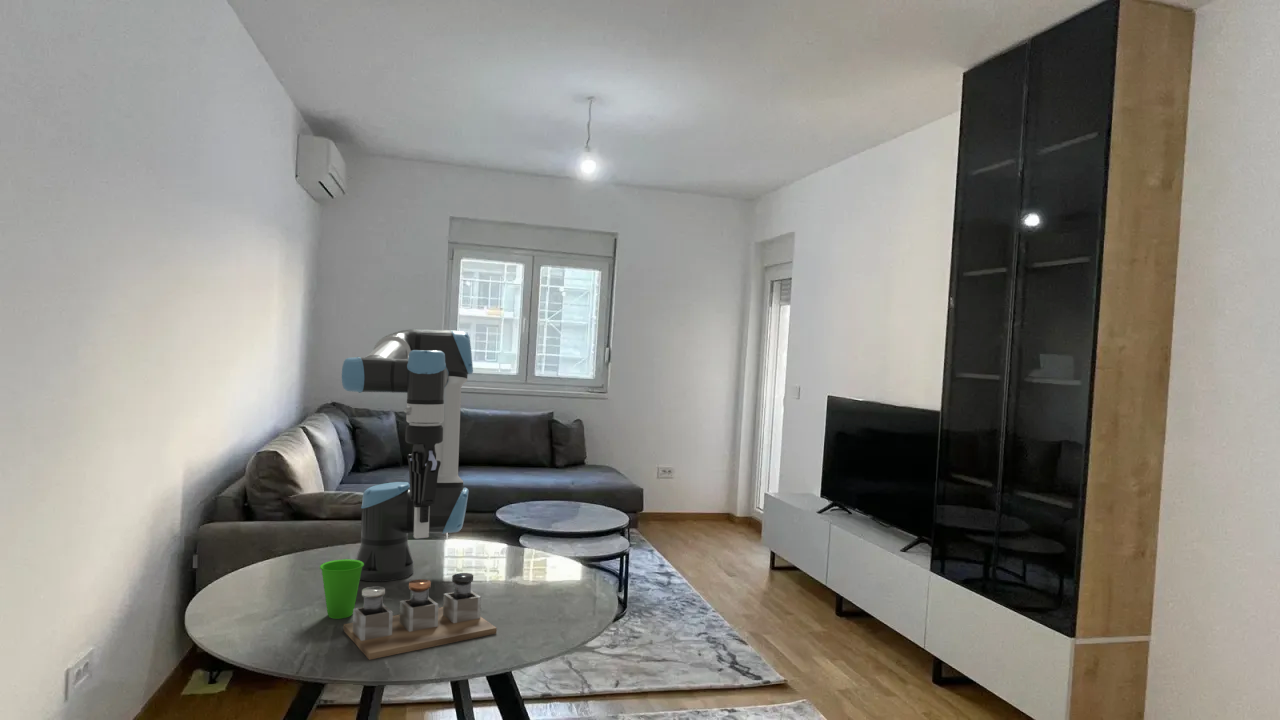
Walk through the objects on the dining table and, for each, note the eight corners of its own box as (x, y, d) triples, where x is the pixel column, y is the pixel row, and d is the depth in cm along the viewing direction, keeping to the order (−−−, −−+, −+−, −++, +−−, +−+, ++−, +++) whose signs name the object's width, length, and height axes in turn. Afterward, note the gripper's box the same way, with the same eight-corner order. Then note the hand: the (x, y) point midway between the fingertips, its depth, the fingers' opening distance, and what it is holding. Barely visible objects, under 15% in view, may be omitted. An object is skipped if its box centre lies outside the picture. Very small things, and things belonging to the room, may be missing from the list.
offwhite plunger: (358, 613, 152) (359, 588, 152) (380, 609, 155) (381, 585, 155) (364, 619, 148) (365, 594, 148) (387, 615, 151) (388, 590, 151)
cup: (371, 611, 168) (372, 562, 168) (342, 624, 159) (344, 572, 159) (338, 605, 171) (339, 557, 171) (308, 618, 162) (310, 567, 162)
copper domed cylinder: (405, 605, 158) (405, 581, 158) (425, 601, 160) (426, 578, 160) (412, 611, 154) (413, 586, 154) (433, 607, 157) (433, 583, 157)
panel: (343, 630, 156) (344, 602, 156) (462, 608, 171) (462, 583, 171) (369, 659, 141) (370, 628, 141) (496, 633, 157) (497, 605, 157)
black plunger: (448, 597, 163) (449, 574, 163) (467, 594, 166) (468, 572, 166) (456, 603, 160) (457, 580, 160) (475, 600, 162) (476, 577, 162)
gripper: (396, 421, 160) (393, 532, 160) (418, 427, 150) (414, 545, 149) (430, 421, 165) (427, 529, 164) (454, 426, 154) (450, 541, 154)
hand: (421, 537), depth 157 cm, fingers closed
